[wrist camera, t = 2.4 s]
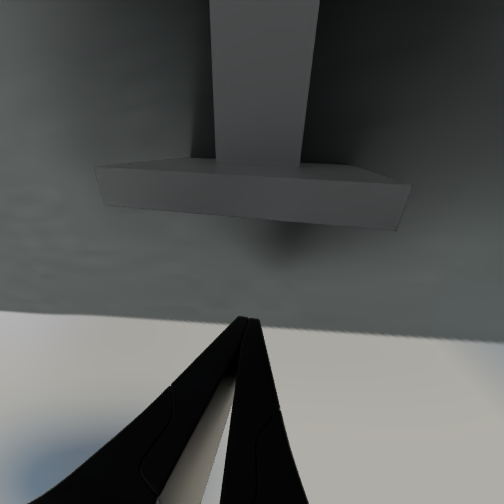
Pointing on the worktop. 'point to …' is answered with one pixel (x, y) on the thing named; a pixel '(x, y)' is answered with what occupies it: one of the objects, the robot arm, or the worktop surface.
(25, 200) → the worktop surface
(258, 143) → the tray
